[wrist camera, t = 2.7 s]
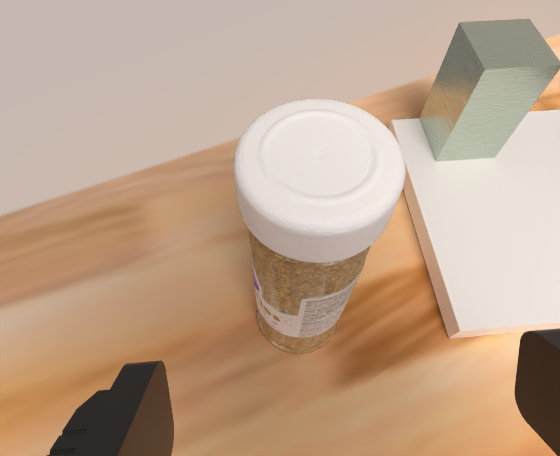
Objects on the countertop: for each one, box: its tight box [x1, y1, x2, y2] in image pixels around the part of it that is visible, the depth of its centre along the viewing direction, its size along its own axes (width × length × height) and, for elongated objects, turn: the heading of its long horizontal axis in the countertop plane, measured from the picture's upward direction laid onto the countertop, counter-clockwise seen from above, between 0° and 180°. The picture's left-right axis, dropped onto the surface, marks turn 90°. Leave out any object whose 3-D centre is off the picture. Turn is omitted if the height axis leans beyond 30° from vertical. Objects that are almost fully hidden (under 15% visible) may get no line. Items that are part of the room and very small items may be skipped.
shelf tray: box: [389, 110, 560, 339], centre depth 23 cm, size 14×15×3 cm
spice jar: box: [234, 99, 406, 354], centre depth 16 cm, size 5×5×13 cm
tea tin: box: [419, 19, 560, 162], centre depth 23 cm, size 4×4×7 cm
